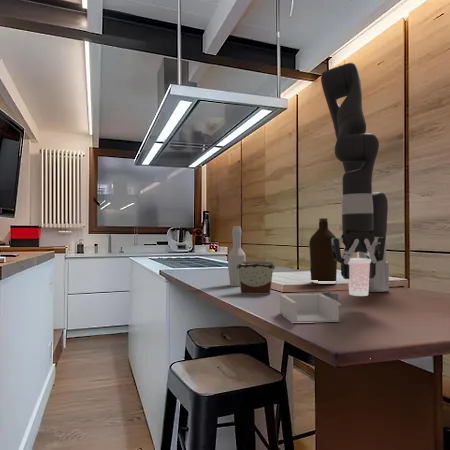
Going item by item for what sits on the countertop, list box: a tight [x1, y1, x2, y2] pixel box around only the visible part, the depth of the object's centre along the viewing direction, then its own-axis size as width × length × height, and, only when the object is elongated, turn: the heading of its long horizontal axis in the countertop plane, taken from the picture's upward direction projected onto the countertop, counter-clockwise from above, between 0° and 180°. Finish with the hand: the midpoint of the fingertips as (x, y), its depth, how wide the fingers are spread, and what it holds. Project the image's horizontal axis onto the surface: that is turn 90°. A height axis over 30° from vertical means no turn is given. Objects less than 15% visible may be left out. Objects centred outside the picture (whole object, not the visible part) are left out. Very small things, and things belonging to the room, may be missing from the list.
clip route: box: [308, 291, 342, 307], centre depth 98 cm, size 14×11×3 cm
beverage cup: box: [347, 252, 371, 297], centre depth 95 cm, size 6×6×14 cm
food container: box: [236, 260, 276, 295], centre depth 122 cm, size 12×6×10 cm, turn 84°
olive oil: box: [308, 217, 338, 282], centre depth 144 cm, size 11×11×25 cm
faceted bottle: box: [227, 225, 247, 287], centre depth 138 cm, size 6×6×22 cm
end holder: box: [279, 293, 340, 323], centre depth 86 cm, size 10×10×5 cm
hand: (358, 278), depth 95 cm, fingers closed on beverage cup, 6 cm apart
